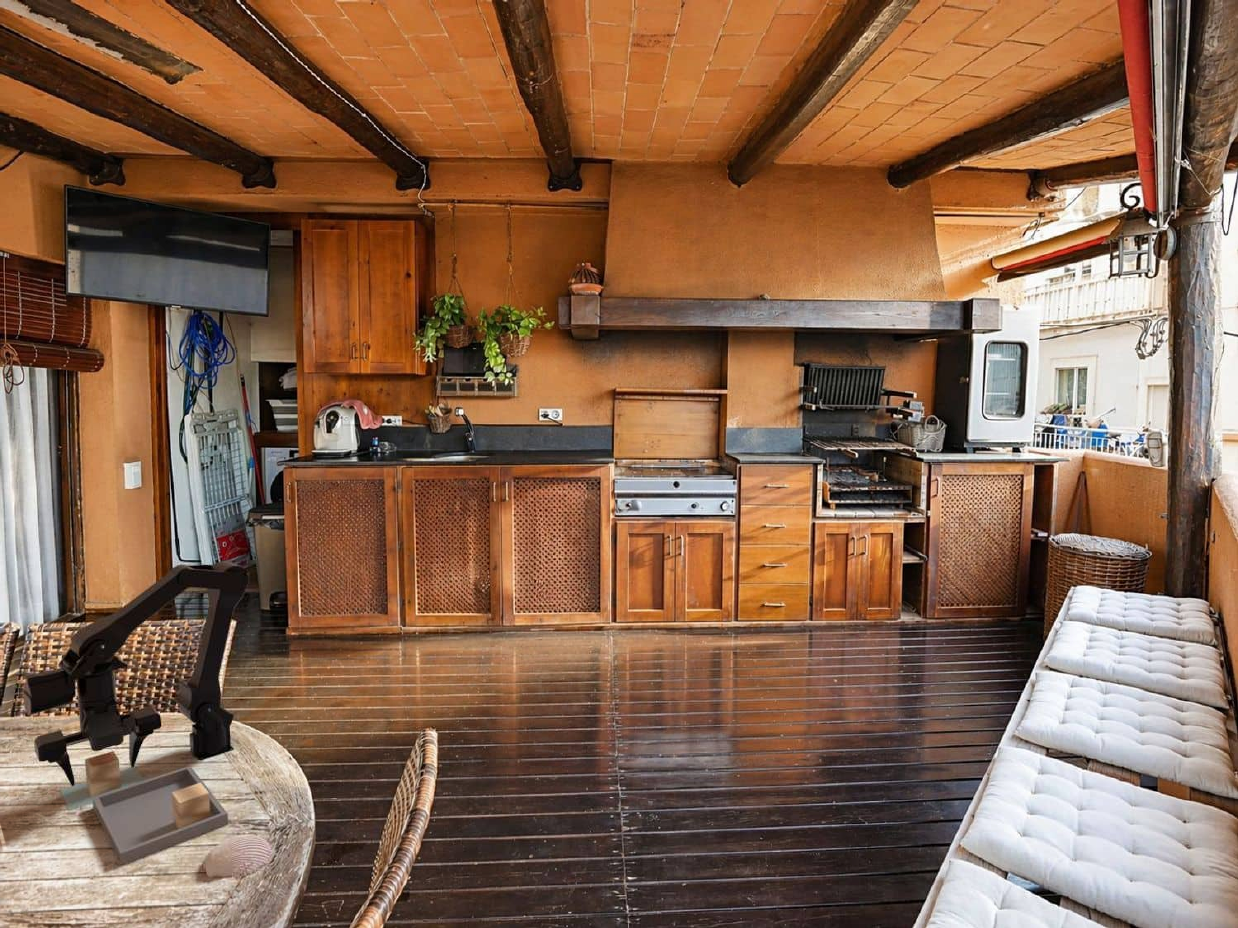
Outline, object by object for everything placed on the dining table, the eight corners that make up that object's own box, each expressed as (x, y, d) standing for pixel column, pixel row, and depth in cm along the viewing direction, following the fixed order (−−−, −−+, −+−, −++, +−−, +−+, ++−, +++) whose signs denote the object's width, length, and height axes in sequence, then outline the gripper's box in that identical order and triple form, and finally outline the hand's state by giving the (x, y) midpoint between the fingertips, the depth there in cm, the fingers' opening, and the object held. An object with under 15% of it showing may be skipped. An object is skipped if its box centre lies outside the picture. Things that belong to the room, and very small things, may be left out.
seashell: (181, 856, 115) (235, 810, 124) (191, 883, 117) (243, 835, 125) (228, 872, 111) (280, 823, 120) (237, 900, 113) (287, 850, 121)
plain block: (202, 811, 131) (200, 782, 130) (210, 822, 127) (208, 792, 127) (173, 822, 127) (171, 792, 127) (181, 833, 124) (179, 803, 124)
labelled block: (115, 777, 141) (113, 749, 140) (120, 787, 138) (118, 758, 137) (87, 786, 138) (84, 758, 137) (91, 796, 135) (89, 767, 134)
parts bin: (190, 777, 142) (190, 765, 142) (228, 826, 127) (227, 813, 127) (93, 810, 131) (92, 797, 131) (121, 868, 116) (120, 853, 116)
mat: (135, 768, 145) (135, 766, 145) (147, 786, 139) (147, 784, 139) (60, 792, 137) (59, 789, 137) (69, 812, 131) (68, 810, 130)
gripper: (40, 727, 124) (47, 814, 125) (166, 694, 137) (171, 773, 139) (30, 705, 131) (37, 788, 133) (151, 676, 145) (156, 752, 146)
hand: (103, 775), depth 138 cm, fingers open, 9 cm apart
